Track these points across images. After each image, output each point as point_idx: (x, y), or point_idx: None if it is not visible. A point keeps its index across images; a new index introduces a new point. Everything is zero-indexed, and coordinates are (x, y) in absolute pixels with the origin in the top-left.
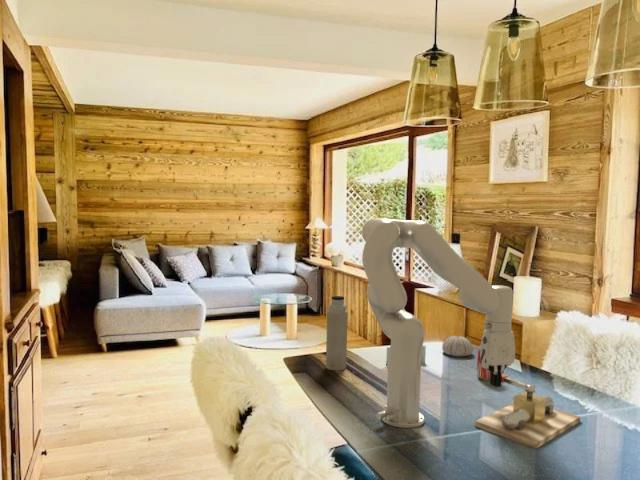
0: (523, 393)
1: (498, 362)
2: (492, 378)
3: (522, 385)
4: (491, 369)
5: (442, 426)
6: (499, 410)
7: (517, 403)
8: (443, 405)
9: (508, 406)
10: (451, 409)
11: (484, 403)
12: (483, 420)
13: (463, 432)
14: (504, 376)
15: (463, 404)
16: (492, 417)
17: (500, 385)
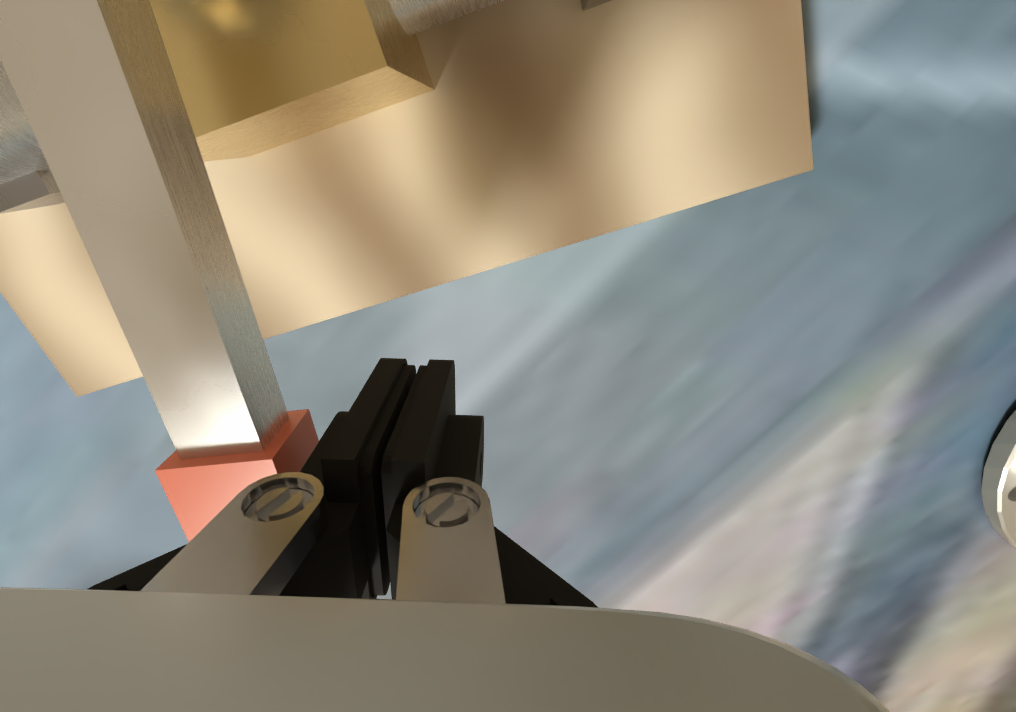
0: None
1: (462, 696)
2: (479, 474)
3: (118, 21)
4: (542, 590)
5: (1013, 258)
6: (431, 277)
7: (382, 14)
8: (685, 529)
9: (295, 317)
10: (690, 466)
11: None
12: (737, 148)
13: (984, 95)
14: (229, 468)
15: (546, 501)
16: (606, 175)
17: (388, 364)
